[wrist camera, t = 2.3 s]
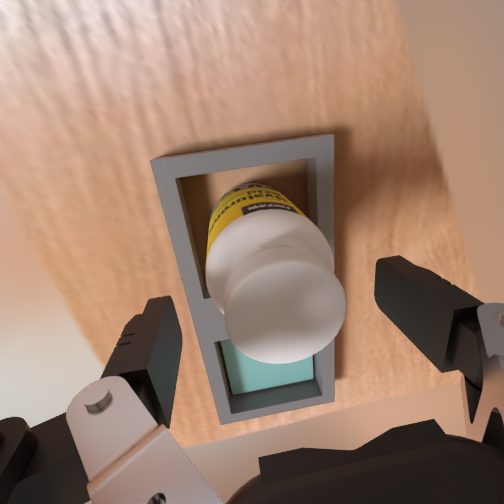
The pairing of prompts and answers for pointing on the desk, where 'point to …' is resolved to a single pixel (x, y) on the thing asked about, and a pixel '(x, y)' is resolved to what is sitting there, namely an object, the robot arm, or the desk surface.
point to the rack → (202, 306)
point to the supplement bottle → (272, 276)
